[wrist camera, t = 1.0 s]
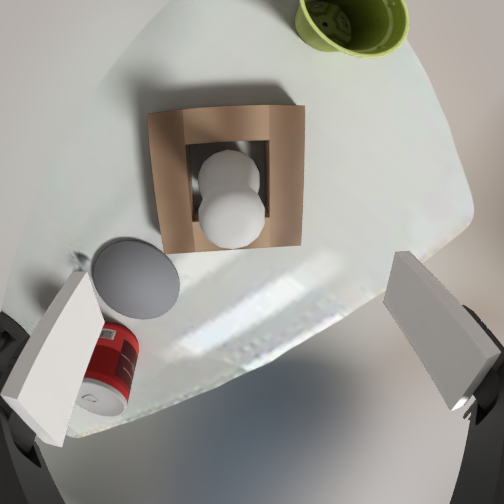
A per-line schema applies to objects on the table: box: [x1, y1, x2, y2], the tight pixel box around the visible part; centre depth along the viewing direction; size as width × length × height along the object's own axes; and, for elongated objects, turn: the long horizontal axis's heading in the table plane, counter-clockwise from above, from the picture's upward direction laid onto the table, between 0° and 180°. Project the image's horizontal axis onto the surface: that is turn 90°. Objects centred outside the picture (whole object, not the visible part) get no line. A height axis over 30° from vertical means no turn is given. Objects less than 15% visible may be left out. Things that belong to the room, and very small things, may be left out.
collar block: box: [147, 105, 305, 254], centre depth 28 cm, size 14×14×3 cm
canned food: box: [75, 322, 139, 416], centre depth 34 cm, size 8×8×11 cm
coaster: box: [93, 240, 180, 319], centre depth 34 cm, size 11×11×1 cm
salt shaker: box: [198, 150, 265, 249], centre depth 24 cm, size 6×6×13 cm
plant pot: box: [295, 0, 409, 58], centre depth 19 cm, size 9×9×9 cm
